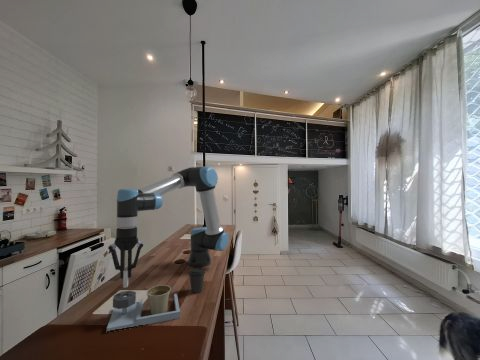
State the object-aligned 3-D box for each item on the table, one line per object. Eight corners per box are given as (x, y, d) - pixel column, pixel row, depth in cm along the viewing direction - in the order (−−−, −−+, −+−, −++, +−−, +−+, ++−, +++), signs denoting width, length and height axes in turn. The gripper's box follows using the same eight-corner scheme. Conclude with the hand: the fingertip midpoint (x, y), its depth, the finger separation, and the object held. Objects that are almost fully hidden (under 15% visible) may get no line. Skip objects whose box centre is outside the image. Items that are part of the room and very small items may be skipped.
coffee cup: (208, 288, 111) (208, 268, 112) (200, 295, 104) (200, 274, 104) (193, 286, 114) (194, 266, 114) (184, 293, 106) (185, 271, 107)
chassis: (176, 298, 101) (177, 281, 101) (179, 318, 86) (180, 297, 86) (115, 309, 92) (115, 289, 93) (106, 332, 77) (106, 309, 78)
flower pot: (156, 321, 84) (156, 298, 84) (141, 313, 89) (141, 291, 89) (175, 309, 92) (175, 288, 92) (160, 303, 97) (160, 283, 97)
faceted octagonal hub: (136, 297, 91) (136, 289, 91) (134, 306, 84) (134, 298, 84) (115, 300, 89) (115, 292, 89) (111, 310, 82) (111, 301, 82)
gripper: (145, 224, 96) (143, 280, 95) (110, 226, 91) (109, 284, 91) (143, 227, 89) (142, 287, 88) (106, 229, 84) (104, 292, 84)
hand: (125, 286), depth 89 cm, fingers closed
